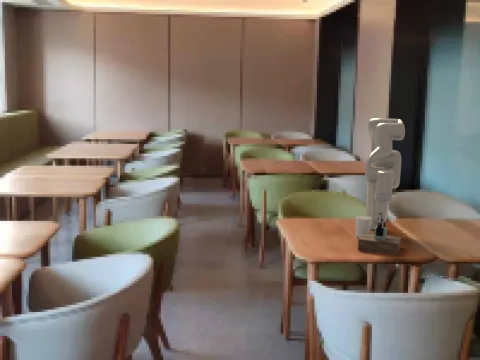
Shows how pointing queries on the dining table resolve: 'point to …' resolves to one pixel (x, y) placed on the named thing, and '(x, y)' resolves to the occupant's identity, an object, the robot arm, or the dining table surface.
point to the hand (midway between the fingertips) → (380, 233)
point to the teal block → (383, 234)
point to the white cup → (363, 225)
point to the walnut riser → (379, 243)
